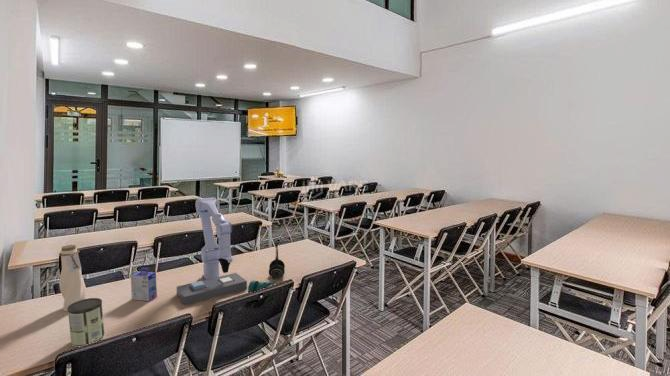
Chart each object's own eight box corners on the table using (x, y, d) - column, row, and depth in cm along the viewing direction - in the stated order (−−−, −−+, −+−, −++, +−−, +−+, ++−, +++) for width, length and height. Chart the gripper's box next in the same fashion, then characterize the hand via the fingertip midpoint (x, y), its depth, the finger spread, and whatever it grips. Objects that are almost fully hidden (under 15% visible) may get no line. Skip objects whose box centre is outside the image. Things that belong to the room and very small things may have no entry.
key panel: (176, 294, 165) (176, 286, 164) (236, 279, 183) (235, 272, 183) (184, 305, 154) (184, 296, 154) (246, 288, 173) (246, 281, 172)
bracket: (260, 301, 159) (260, 285, 158) (248, 299, 161) (247, 283, 160) (278, 286, 176) (278, 271, 175) (266, 284, 178) (266, 270, 177)
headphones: (284, 271, 197) (284, 237, 194) (284, 281, 182) (284, 245, 180) (269, 271, 195) (269, 238, 193) (268, 282, 181) (267, 245, 178)
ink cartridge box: (158, 296, 162) (156, 267, 161) (149, 301, 157) (147, 271, 155) (140, 294, 164) (138, 265, 163) (131, 299, 159) (129, 270, 157)
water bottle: (93, 304, 153) (88, 245, 150) (72, 314, 145) (67, 250, 141) (78, 301, 157) (72, 242, 153) (56, 310, 148) (50, 248, 145)
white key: (219, 284, 173) (219, 279, 173) (229, 282, 176) (229, 276, 176) (223, 288, 169) (223, 282, 169) (233, 285, 172) (232, 279, 172)
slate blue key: (191, 289, 164) (190, 283, 164) (201, 286, 168) (201, 280, 167) (194, 292, 161) (193, 286, 160) (204, 290, 164) (204, 284, 163)
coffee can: (83, 332, 131) (80, 297, 129) (110, 332, 132) (108, 297, 130) (63, 348, 121) (59, 310, 119) (92, 347, 121) (89, 310, 120)
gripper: (211, 244, 173) (212, 269, 175) (222, 251, 162) (222, 278, 164) (225, 241, 178) (225, 266, 179) (236, 248, 166) (236, 275, 168)
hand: (225, 272), depth 172 cm, fingers closed
